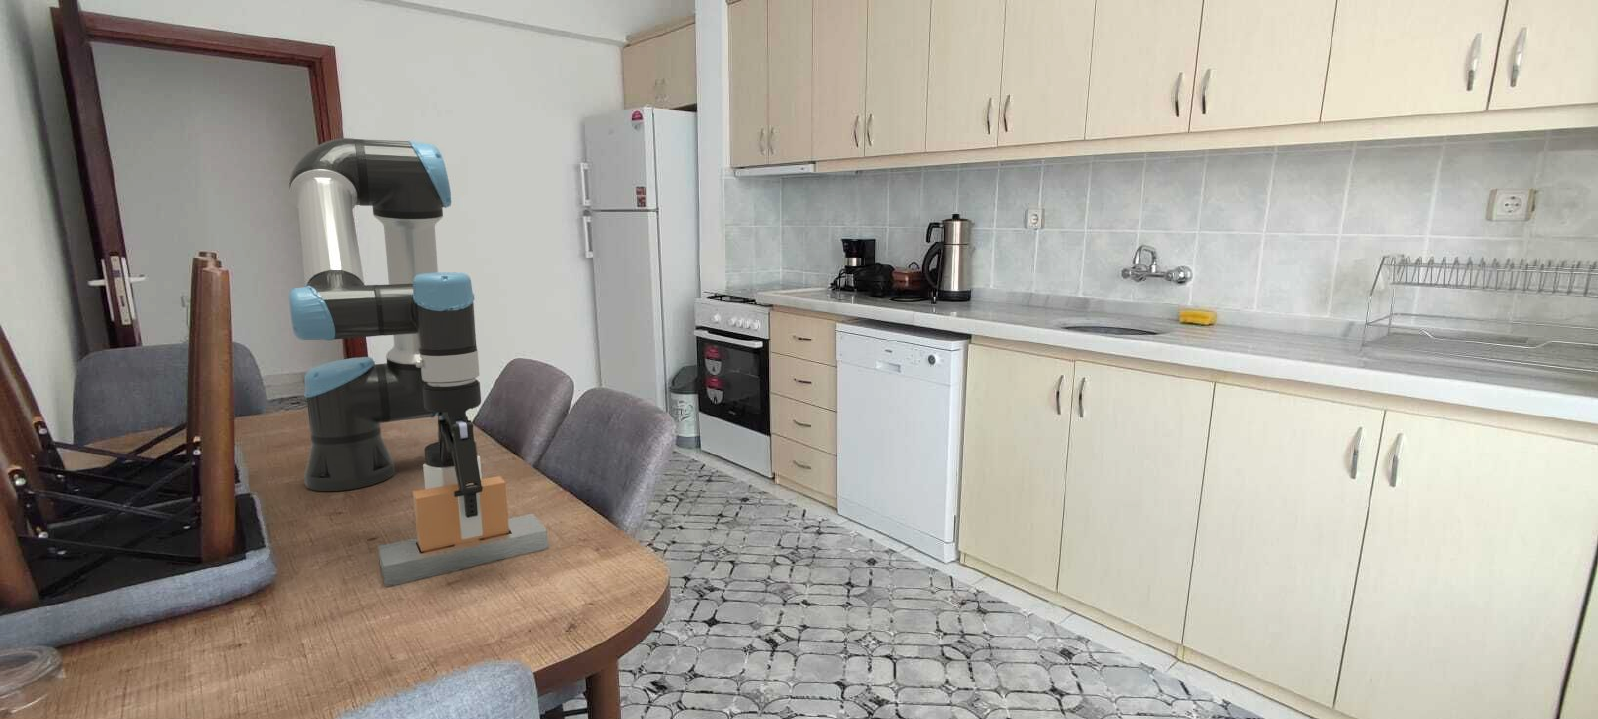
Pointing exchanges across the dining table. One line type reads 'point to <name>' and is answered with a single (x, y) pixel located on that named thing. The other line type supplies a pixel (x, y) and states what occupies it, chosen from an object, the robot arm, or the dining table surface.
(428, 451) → the jar
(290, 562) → the dining table surface
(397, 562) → the grey slotted block
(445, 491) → the tan notched block
